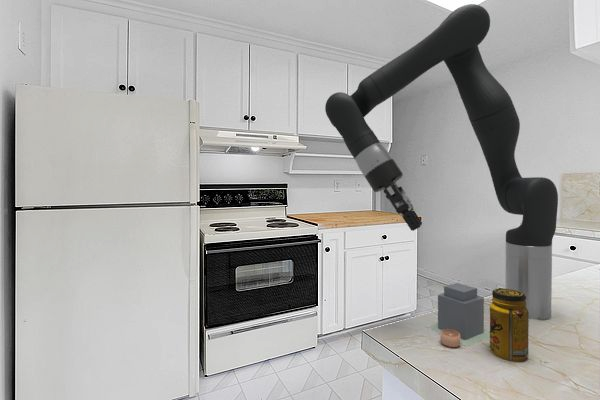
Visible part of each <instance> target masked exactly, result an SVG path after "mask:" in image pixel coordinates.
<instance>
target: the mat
mask: <svg viewBox="0 0 600 400" xmlns="http://www.w3.org/2000/svg"><path fill="white" fill-rule="evenodd" d="M426 328H427V329H429V330H431V331H433V332H435V333H438V334H439V335H440V331H441V330H440V329H438V322H436V323H433V324H430V325H427V326H426ZM488 339H490V330H488V329H484V333H482V334H479V335H477V336H474V337H472V338H470V339H467V340H463V339H461V338H460V345H462V346H465V347H469V346H472V345H474V344H478V343H479V342H482V341H485V340H488Z"/></svg>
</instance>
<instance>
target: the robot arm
mask: <svg viewBox="0 0 600 400" xmlns="http://www.w3.org/2000/svg"><path fill="white" fill-rule="evenodd" d="M490 28H491V17H490V14H489V12H488V10H487V9H486V8H485V7H483V6H481V5H480V4H479V5H478V4H475V3H474V4H473V3H469V4H464V5H462V6H460V7H457V8H456V9H455V10H453V11H452V12H450V14H449V15H448V16H447V17H446V18H445V19H443V21H442V22H441V23H440V24H439V26H437V28H435V29H434V31H432V32H431V33H430V34H428V35H427V36H426V37H425V38H423V39H422V40H421V41H419V42H417V44H416V43H415V45H414V46H412V47H410V48H409V49H407V50H406V51H405V52H403V53H402V54H400V55H398V56H397V57H395V58H393V59H392V60H390V61H388V62H387V63H386V64H384V65H382V66H381V67H380V68H378V69H377V70H375V71H374V72H372V73H371V74H369V75H367V76H366V77H365V78H363V79H362V80H361V81H359V83H358V86H357V89H356V90H355V91H354V92H353V93H352V94H350V95H349V94H348V93H345V92H341V91H340V92H335V93H333V94H331V95H330V96H329V97H328V98H327V100H326V102H325V106H324V108H325V110H324V111H325V114H326V117H327V118H328V121H329V122H330V124H331V125H332V127H334V128H335V129H336V131H337V132H338V133H339V135H340V136H341V138H342V139H343V141H344V144H345V146H346V148H347V150H348V151H349V153H350V154H351V156H352V157H353V159H354V160H355V163H356V164H357V167H358V169H359V170H360V172H361V173H362V175H363V176H364V178H365V180H366V181H367V183H368V185H369V186H370V188H371V189H372V191H373V192H375V193H379V192H381V191H383V193H384V194H385V198H386V200H387V201H388V202H389V203H390V204H391V206H392V208H393V209H394V210H395V212H396V214H398V215H399V216H400V217H402V218H403V220H404V221H405V223H406V225H407V226H408V228H409V229H410V231H416V230H417V229H419V228H421V226H422V224H423V222H422V220H421V219H420V218H419V216H418V214H417V213H416V211H415V210H414V206H413V204H412V201H411V200H410V198H409V196H408V195H407V192H406V191H405V189H404V188H403V186H398V185H397V181H399V180H400V179H401V178H403V172H402V170H401V169H400V167H399V166H398V164H397V163H396V161H395V159H394V158H393V156H391V154H390V152H389V151H388V150H387V149H386V147H385V146H384V145H383V144H382V143H381V141H380V139H379V138H378V137H377V135H376V134H375V132H374V131H373V129H372V128H371V127H370V126H369V125H368V122H367V121H366V120H365V117H366V116H367V115H368V114H369V113H370V112H371V111H373V109H374V108H376V107H377V106H379V105H380V104H382V103H384V102H385V101H387V100H388V99H390V98H391V97H393V96H394V95H396V94H397V93H399V92H400V91H401V90H403V89H405V88H406V87H407V86H408V85H410V84H411V83H413V82H414V81H415V80H416V79H418V78H420V77H421V76H422V75H423V74H425V73H427V71H430V69H432V68H434V67H435V66H437V65H439V64H440V63H442V62H444V64H445V66H447V69H448V71H449V73H450V75H451V76H452V78H453V80H454V82H455V85H456V88H457V90H458V93H459V96H460V99H461V101H462V103H463V106H464V109H465V111H466V114H467V116H468V120H469V122H470V125H471V127H472V129H473V132H474V135H475V136H476V138H477V140H478V143H479V145H480V148H481V150H482V154H483V156H484V159H485V161H486V164H487V167H488V169H489V173H490V177H491V181H492V184H493V188H494V192H495V195H496V198H497V201H498V203H499V205H500V207H501V208H502V209H503V211H505V212H507V213H509V214H512V215H518V216H519V215H520V216H522V220H521V223H520V225H519V226H517V227H514V228H511V229H508V230H507V231H506V233H505V289H513V290H517V291H520V292H522V293H524V294H525V296H526V300H525V301H526V308H527V310H528V312H529V320H530V319H532V320H538V321H539V320H549V319H551V318H552V297H553V296H552V295H553V294H552V291H553V289H552V286H553V282H552V280H553V274H552V273H553V271H552V270H553V264H552V263H553V238H554V236H555V233H556V230H557V229H556V228H557V221H558V220H557V218H558V209H559V208H558V205H559V195H558V194H559V193H558V189H557V186H556V184H555V183H554V182H553V181H552V180H551V179H549V178H547V177H543V176H541V177H539V176H537V177H536V176H535V177H532V176H531V177H522V175H521V173H520V171H519V169H518V165H517V162H516V157H515V156H516V155H515V153H516V152H515V151H516V147H517V142H518V139H519V134H520V129H521V124H520V123H521V122H520V119H519V118H520V117H519V115H518V113H517V110H516V107H515V105H514V103H513V100H512V98H511V96H510V94H509V93H508V91H507V90H506V89H505V88H504V86H503V85H502V84H501V83H500V82H499V81H498V80H497V79H496V78H495V77H494V76H493V75H492V73H491V72H490V71H489V70H488V68H487V66H486V65H485V63H484V60H483V58H482V54H481V51H480V49H479V45H480V44H481V43H482V42H483V41H484V39H485V38H486V37H487V35H488V33H489V32H490Z"/></svg>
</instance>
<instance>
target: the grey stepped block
mask: <svg viewBox="0 0 600 400" xmlns="http://www.w3.org/2000/svg"><path fill="white" fill-rule="evenodd" d="M484 310H485V298H484V297H482V296H480V295H479V296H478V288H477V287H474V286H471V285H467V284H463V283H460V282H455V283H452V284H448V285H444V287H443V293H440V294H437V323H438V329H440V330H443V329H451V330H455V331H457V332H459V333H460V338H461V339H463V340H467V339H470V338H472V337H474V336H477V335H479V334H482V333H484V328H485V322H484V321H485V315H484V314H485V311H484Z"/></svg>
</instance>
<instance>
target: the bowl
mask: <svg viewBox="0 0 600 400" xmlns="http://www.w3.org/2000/svg"><path fill="white" fill-rule="evenodd" d="M439 335H440V340H439V341H440V343H441V344H443V346H446V347H449V348H458V347H460V346H461V344H460V333H459V332H457V331H455V330H451V329H443V330H441V331H440V334H439Z"/></svg>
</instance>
